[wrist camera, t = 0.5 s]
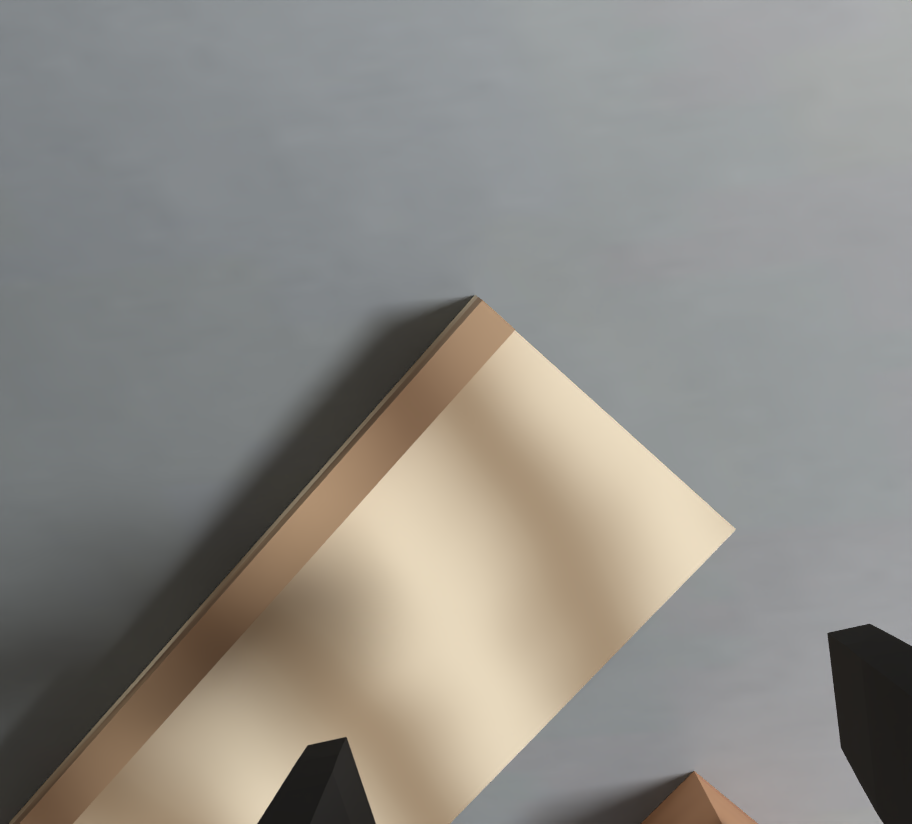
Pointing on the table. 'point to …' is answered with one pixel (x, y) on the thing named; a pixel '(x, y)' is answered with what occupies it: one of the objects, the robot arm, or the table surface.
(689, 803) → the brown wooden block
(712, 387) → the table surface
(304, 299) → the table surface
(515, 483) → the board
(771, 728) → the table surface
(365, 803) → the robot arm
